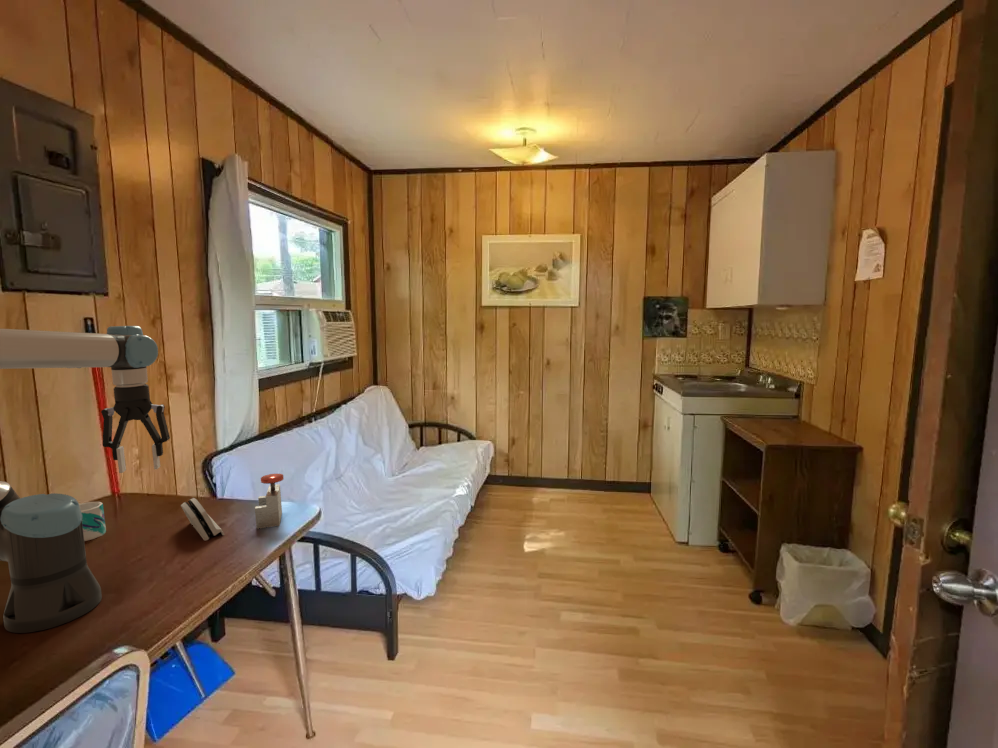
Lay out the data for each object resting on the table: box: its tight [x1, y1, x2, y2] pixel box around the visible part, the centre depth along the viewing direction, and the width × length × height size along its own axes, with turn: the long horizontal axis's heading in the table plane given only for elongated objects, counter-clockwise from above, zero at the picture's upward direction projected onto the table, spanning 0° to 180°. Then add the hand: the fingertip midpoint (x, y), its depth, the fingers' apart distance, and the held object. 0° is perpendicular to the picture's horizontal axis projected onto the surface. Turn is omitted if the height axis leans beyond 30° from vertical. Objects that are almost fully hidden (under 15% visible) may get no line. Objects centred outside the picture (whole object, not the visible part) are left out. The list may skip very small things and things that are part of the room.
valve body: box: [254, 473, 284, 530], centre depth 148 cm, size 10×8×13 cm
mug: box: [79, 501, 107, 542], centre depth 142 cm, size 8×12×8 cm
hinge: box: [180, 497, 226, 542], centre depth 143 cm, size 17×5×10 cm, turn 42°
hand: (140, 469), depth 137 cm, fingers open, 7 cm apart
